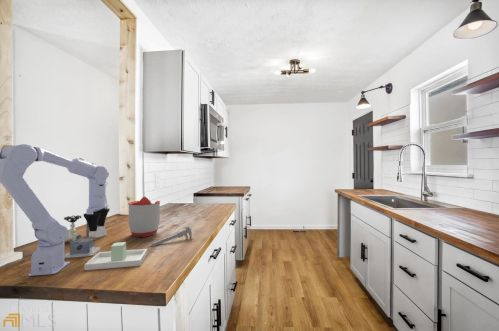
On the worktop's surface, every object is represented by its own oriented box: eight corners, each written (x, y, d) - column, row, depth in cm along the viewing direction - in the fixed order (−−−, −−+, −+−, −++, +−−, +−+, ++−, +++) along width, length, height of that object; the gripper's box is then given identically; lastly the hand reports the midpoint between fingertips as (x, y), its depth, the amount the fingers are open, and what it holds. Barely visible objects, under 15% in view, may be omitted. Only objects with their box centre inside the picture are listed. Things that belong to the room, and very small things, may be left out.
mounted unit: (92, 255, 95) (92, 242, 95) (64, 258, 93) (64, 244, 93) (100, 249, 103) (100, 236, 103) (74, 250, 101) (74, 237, 101)
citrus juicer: (168, 230, 133) (168, 194, 133) (147, 239, 116) (147, 198, 116) (144, 228, 137) (144, 193, 137) (120, 237, 120) (120, 197, 120)
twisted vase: (102, 233, 128) (102, 181, 128) (111, 235, 124) (111, 182, 125) (85, 237, 121) (85, 182, 121) (94, 239, 117) (94, 183, 117)
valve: (72, 244, 109) (72, 218, 109) (60, 243, 111) (60, 217, 111) (84, 240, 116) (84, 215, 116) (73, 239, 117) (73, 215, 117)
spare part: (122, 261, 88) (122, 245, 88) (111, 262, 88) (111, 246, 88) (126, 257, 92) (126, 242, 92) (114, 258, 91) (114, 242, 91)
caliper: (190, 238, 120) (190, 225, 120) (191, 238, 119) (191, 226, 119) (148, 247, 107) (148, 232, 107) (149, 247, 106) (149, 233, 106)
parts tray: (140, 265, 86) (140, 260, 86) (84, 270, 82) (84, 264, 82) (147, 253, 98) (147, 248, 98) (98, 257, 94) (98, 252, 94)
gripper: (101, 197, 91) (101, 232, 91) (114, 193, 105) (114, 223, 105) (80, 197, 90) (80, 233, 90) (96, 193, 104) (96, 224, 104)
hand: (97, 228), depth 97 cm, fingers open, 7 cm apart
